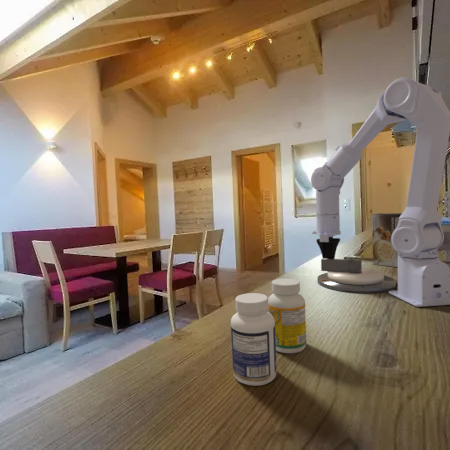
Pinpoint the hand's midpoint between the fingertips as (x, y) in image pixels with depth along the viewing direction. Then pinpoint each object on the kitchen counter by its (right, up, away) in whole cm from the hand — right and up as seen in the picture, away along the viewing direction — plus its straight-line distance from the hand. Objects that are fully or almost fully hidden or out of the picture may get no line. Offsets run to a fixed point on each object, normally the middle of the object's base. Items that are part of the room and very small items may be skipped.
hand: (328, 265), depth 83 cm
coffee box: (+24, -2, +15) cm, 29 cm away
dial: (+4, -3, -4) cm, 7 cm away
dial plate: (+5, -4, -4) cm, 8 cm away
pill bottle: (-24, -8, -44) cm, 51 cm away
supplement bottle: (-18, -7, -37) cm, 42 cm away
